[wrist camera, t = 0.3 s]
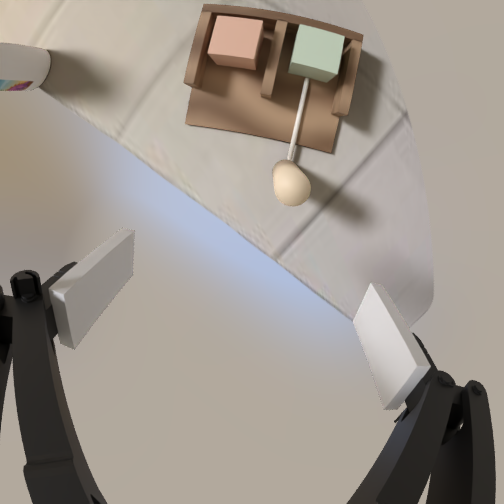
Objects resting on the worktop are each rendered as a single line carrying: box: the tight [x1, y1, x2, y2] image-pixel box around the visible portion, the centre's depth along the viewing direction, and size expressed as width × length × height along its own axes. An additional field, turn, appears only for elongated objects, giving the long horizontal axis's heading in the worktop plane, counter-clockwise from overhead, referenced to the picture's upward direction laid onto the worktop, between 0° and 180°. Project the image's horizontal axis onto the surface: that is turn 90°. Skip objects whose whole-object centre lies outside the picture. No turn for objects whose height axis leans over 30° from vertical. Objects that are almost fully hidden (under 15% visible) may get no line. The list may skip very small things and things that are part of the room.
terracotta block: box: [208, 16, 264, 70], centre depth 27 cm, size 5×5×6 cm
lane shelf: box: [184, 4, 363, 153], centre depth 29 cm, size 16×19×5 cm
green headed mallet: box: [273, 24, 345, 206], centre depth 28 cm, size 20×5×11 cm, turn 169°
